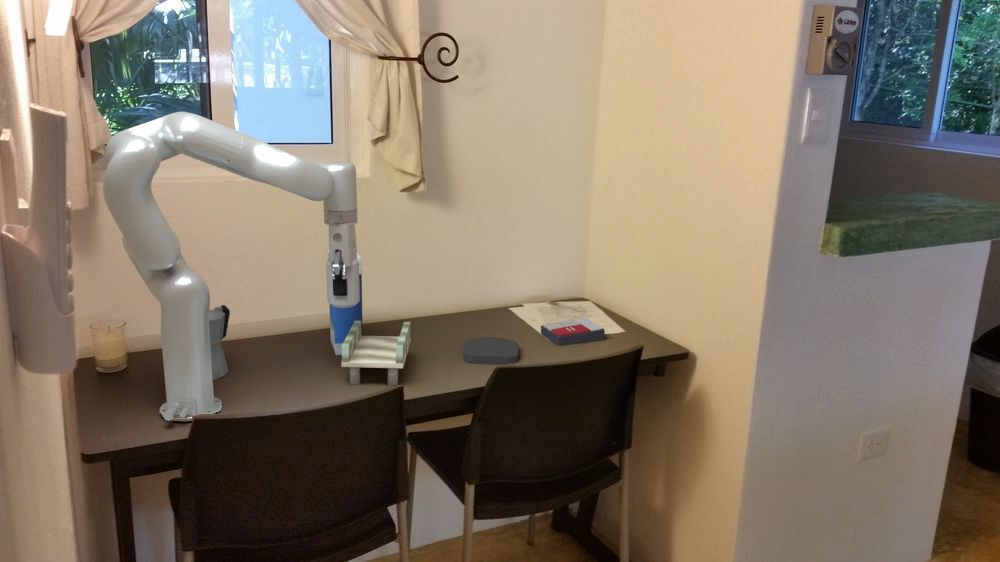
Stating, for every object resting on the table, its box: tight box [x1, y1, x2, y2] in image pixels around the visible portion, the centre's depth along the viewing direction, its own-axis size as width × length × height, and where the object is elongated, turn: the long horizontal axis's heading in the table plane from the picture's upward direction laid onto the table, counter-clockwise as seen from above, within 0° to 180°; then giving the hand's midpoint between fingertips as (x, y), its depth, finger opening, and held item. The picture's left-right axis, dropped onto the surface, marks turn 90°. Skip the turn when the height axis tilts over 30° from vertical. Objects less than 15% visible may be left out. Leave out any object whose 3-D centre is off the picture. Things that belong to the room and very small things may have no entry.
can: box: [325, 255, 360, 308], centre depth 188 cm, size 8×8×12 cm
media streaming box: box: [462, 336, 519, 365], centre depth 214 cm, size 15×15×3 cm
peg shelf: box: [340, 321, 412, 387], centre depth 198 cm, size 19×14×10 cm
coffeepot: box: [209, 304, 231, 379], centre depth 193 cm, size 15×9×18 cm, turn 160°
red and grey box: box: [540, 317, 606, 347], centre depth 229 cm, size 11×4×15 cm
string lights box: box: [327, 248, 364, 356], centre depth 213 cm, size 13×8×26 cm, turn 18°
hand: (343, 289), depth 188 cm, fingers closed on can, 7 cm apart
